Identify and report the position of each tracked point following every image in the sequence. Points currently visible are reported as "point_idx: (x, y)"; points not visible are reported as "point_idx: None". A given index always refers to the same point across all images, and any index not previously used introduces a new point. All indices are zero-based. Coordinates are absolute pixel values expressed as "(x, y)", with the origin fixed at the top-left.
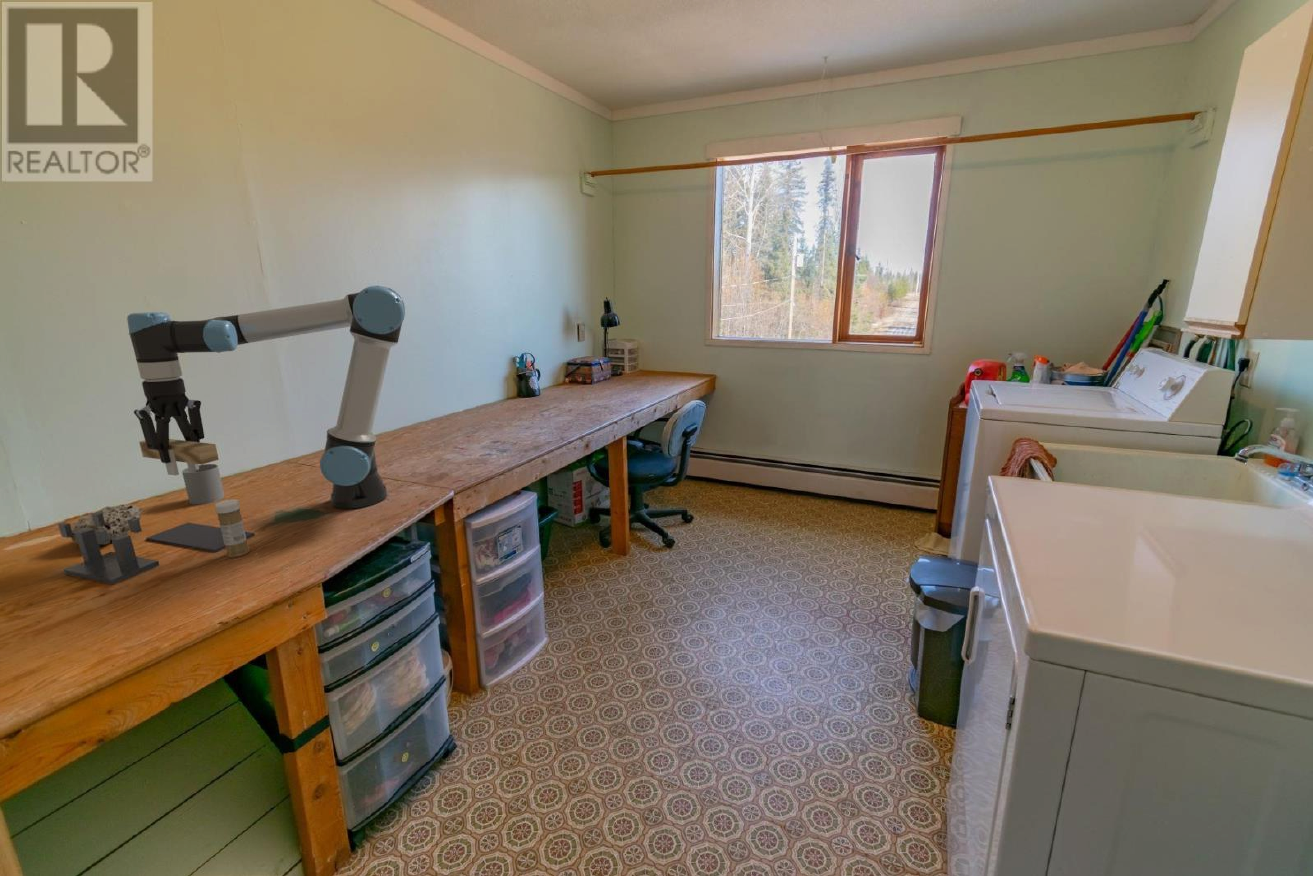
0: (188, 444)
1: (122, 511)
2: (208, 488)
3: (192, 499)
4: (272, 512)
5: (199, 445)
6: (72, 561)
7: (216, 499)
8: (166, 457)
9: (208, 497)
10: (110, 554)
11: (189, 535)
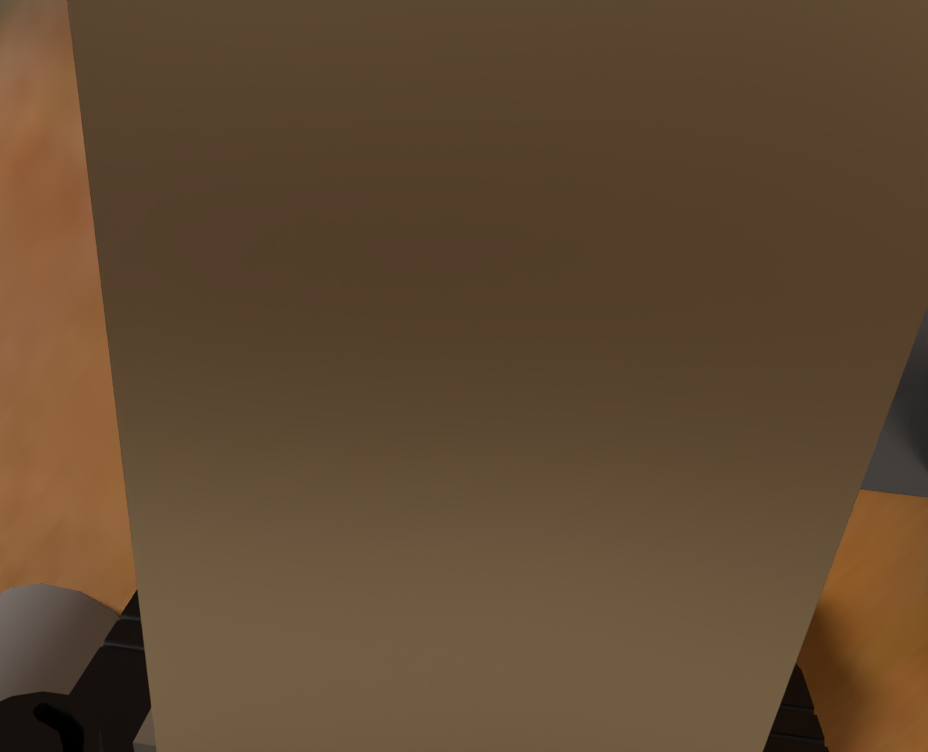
0: (484, 638)
1: None
2: (31, 664)
3: None
4: (11, 56)
5: (529, 29)
6: (887, 598)
7: (49, 593)
8: (779, 729)
9: (73, 624)
10: (872, 455)
11: None
